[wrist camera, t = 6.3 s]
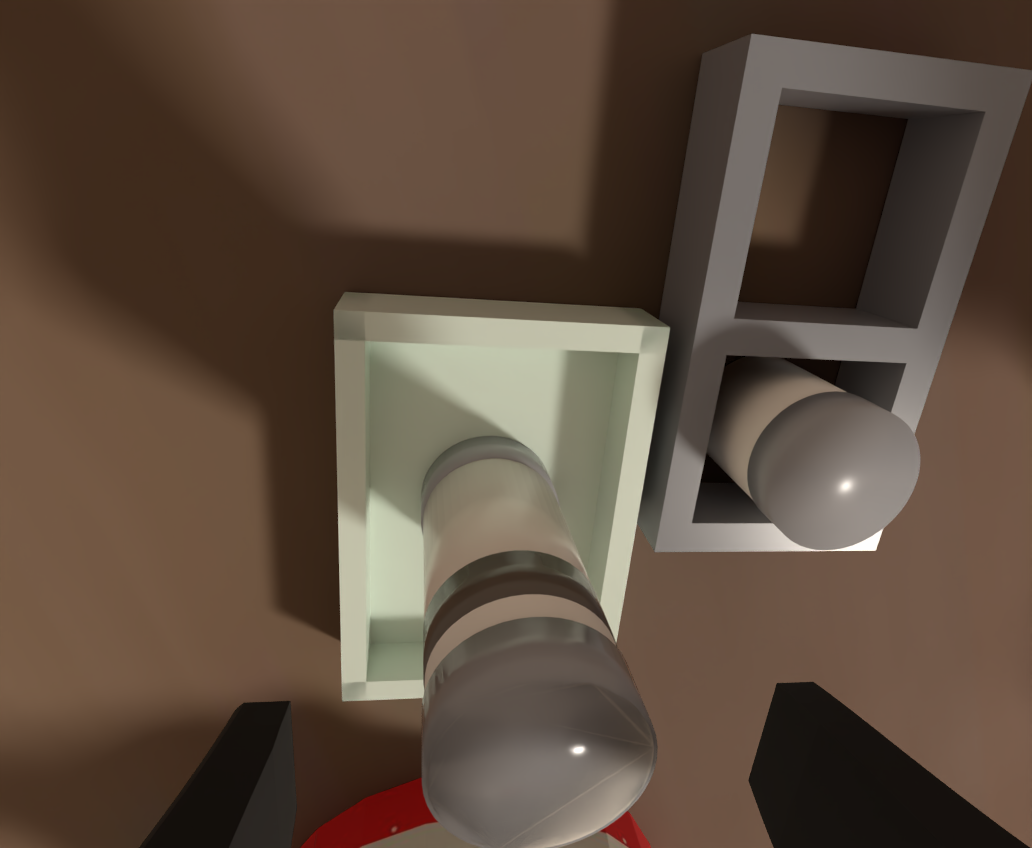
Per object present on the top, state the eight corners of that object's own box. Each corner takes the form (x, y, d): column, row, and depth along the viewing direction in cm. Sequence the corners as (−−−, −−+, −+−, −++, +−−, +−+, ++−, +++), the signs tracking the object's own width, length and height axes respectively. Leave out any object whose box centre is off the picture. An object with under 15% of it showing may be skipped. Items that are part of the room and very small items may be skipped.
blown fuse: (560, 441, 16) (681, 678, 9) (539, 554, 17) (630, 848, 10) (427, 430, 15) (434, 675, 8) (415, 548, 16) (411, 857, 9)
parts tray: (640, 308, 16) (670, 327, 14) (590, 640, 19) (608, 690, 17) (344, 291, 14) (333, 309, 13) (350, 646, 18) (342, 701, 16)
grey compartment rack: (950, 83, 15) (1134, 55, 11) (826, 508, 19) (929, 595, 15) (702, 53, 14) (810, 10, 10) (627, 508, 18) (684, 600, 14)
